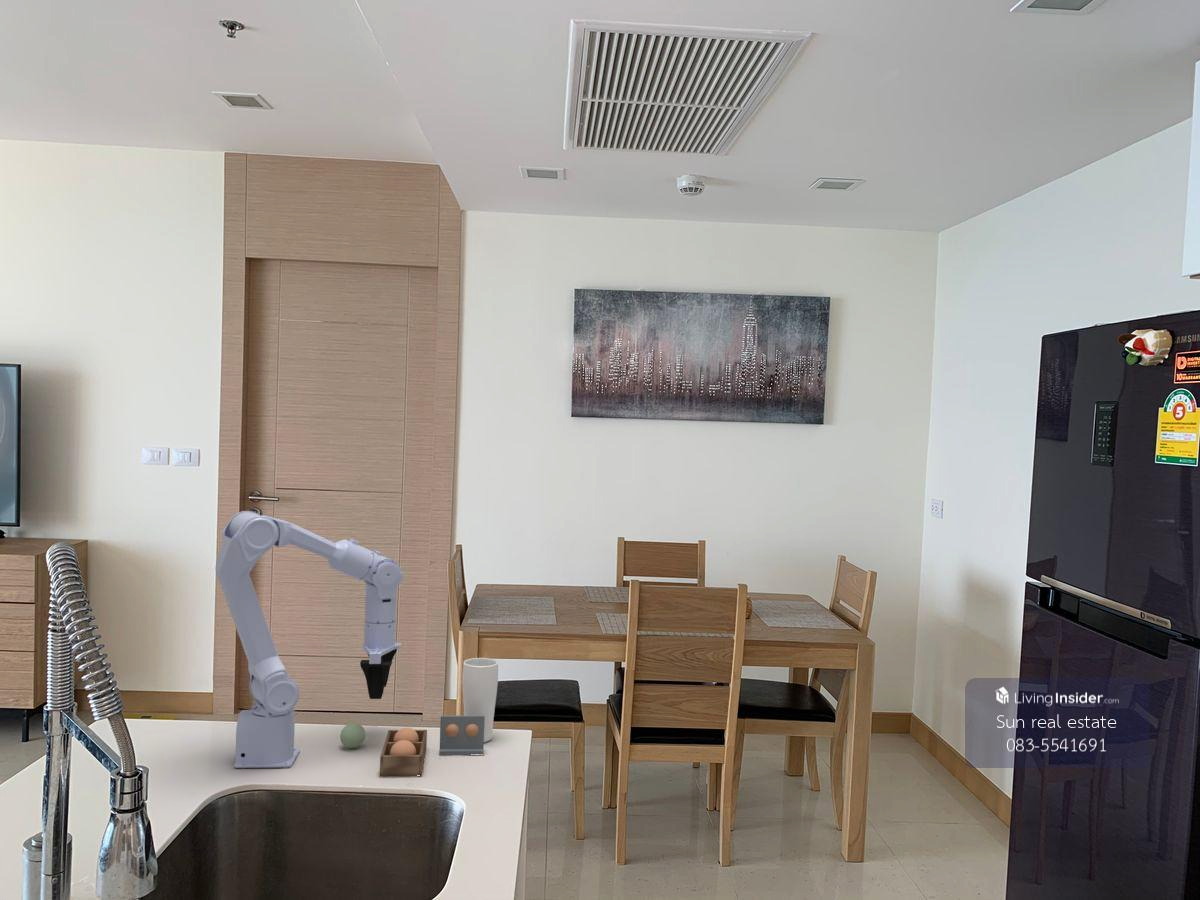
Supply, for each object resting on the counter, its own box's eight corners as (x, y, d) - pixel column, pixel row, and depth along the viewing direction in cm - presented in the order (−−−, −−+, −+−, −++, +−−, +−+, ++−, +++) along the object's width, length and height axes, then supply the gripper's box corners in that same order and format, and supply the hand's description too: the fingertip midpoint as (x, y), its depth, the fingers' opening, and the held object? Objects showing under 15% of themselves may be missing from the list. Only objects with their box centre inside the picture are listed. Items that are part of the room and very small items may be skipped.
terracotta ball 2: (388, 771, 157) (388, 746, 157) (390, 760, 162) (391, 736, 161) (414, 771, 158) (415, 746, 157) (416, 760, 162) (417, 735, 162)
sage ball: (338, 752, 166) (338, 727, 166) (341, 743, 171) (342, 719, 171) (363, 751, 167) (364, 727, 167) (366, 743, 172) (367, 719, 171)
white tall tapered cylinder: (478, 748, 171) (481, 668, 171) (452, 739, 175) (455, 661, 175) (503, 739, 177) (505, 662, 176) (478, 731, 181) (480, 655, 180)
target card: (439, 755, 167) (440, 718, 166) (439, 749, 170) (441, 713, 169) (483, 755, 168) (484, 718, 167) (483, 749, 171) (484, 713, 170)
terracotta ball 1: (391, 757, 164) (392, 732, 163) (394, 748, 168) (395, 724, 168) (417, 757, 164) (418, 732, 164) (419, 748, 169) (420, 724, 168)
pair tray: (379, 776, 156) (380, 756, 156) (387, 748, 169) (388, 730, 169) (421, 776, 157) (422, 756, 156) (426, 748, 170) (427, 729, 170)
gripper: (398, 629, 165) (396, 704, 166) (405, 612, 180) (403, 681, 180) (358, 629, 164) (356, 704, 165) (368, 612, 179) (366, 681, 179)
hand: (378, 692), depth 172 cm, fingers open, 7 cm apart
